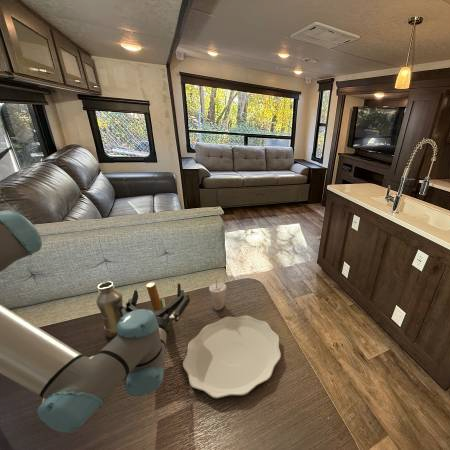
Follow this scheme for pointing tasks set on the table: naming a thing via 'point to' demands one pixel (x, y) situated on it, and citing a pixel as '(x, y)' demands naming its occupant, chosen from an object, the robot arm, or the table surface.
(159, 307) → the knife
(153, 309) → the green rectangular holder
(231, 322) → the plate
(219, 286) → the smoothie
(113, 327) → the plastic bottle
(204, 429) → the table surface
